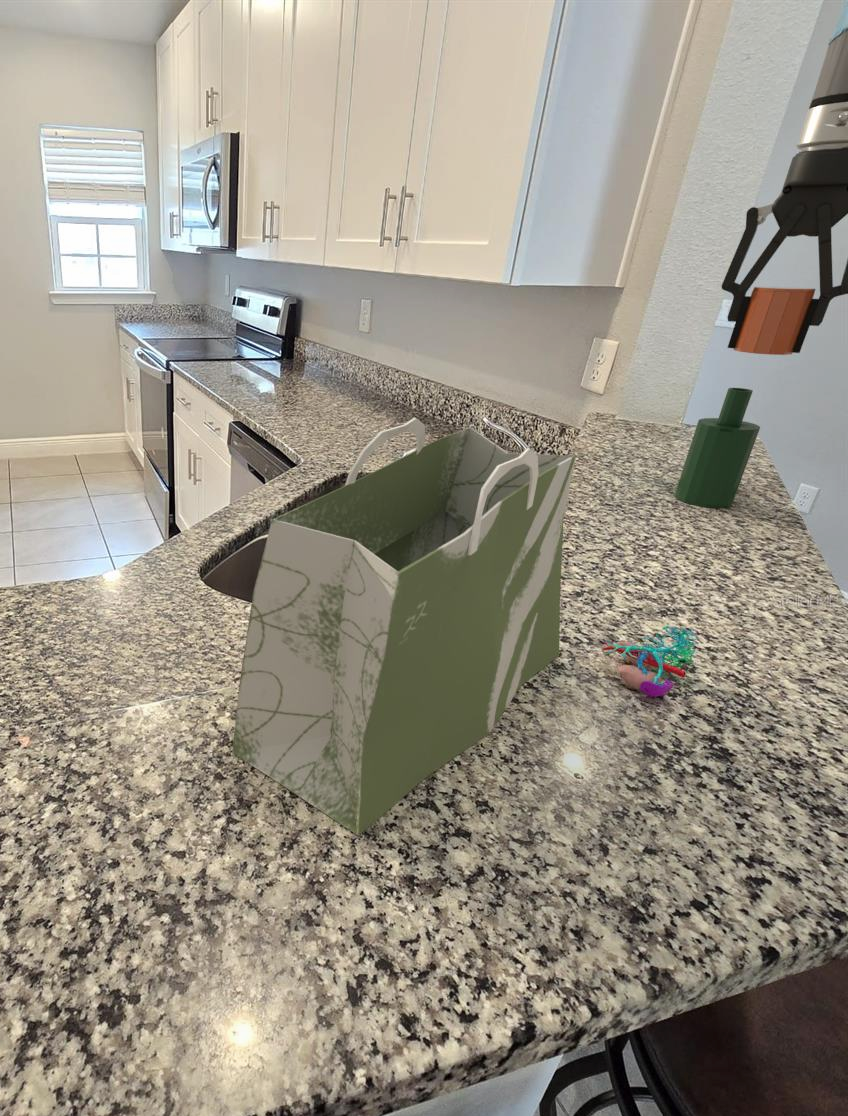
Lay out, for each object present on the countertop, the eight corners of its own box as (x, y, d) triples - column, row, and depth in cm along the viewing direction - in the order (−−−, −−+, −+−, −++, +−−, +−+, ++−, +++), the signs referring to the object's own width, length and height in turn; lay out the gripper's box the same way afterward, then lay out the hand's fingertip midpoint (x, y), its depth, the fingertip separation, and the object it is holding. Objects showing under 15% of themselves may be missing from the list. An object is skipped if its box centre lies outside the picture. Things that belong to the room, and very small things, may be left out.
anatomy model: (594, 635, 59) (684, 655, 54) (621, 605, 64) (704, 620, 60) (588, 686, 61) (674, 709, 56) (614, 653, 66) (694, 671, 62)
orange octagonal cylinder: (792, 351, 93) (815, 287, 89) (791, 356, 88) (816, 289, 84) (735, 347, 96) (755, 286, 92) (731, 351, 91) (752, 287, 88)
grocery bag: (375, 847, 43) (420, 508, 32) (225, 748, 52) (223, 454, 41) (565, 658, 64) (631, 412, 53) (436, 609, 72) (471, 389, 62)
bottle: (733, 498, 106) (773, 389, 99) (729, 511, 101) (771, 396, 93) (678, 488, 111) (712, 383, 103) (671, 501, 105) (706, 390, 97)
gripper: (734, 152, 84) (678, 346, 94) (945, 139, 73) (855, 358, 84) (738, 158, 89) (684, 341, 100) (935, 147, 79) (852, 352, 89)
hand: (762, 349), depth 92 cm, fingers closed on orange octagonal cylinder, 7 cm apart
